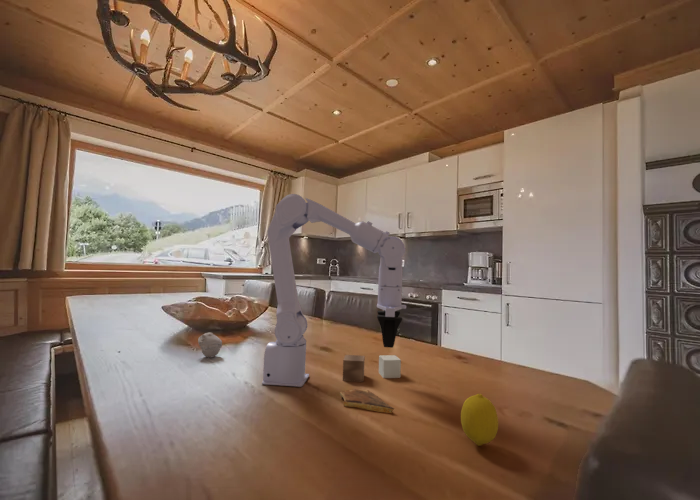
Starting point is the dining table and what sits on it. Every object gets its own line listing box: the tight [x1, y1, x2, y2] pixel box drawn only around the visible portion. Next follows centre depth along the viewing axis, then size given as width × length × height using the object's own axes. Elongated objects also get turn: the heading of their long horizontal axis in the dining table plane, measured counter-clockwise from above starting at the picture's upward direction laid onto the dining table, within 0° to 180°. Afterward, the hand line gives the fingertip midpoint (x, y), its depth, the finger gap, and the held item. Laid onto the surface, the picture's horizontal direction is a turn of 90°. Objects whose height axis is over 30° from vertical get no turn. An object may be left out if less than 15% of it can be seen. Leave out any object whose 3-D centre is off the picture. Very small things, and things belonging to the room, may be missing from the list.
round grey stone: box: [197, 332, 223, 358], centre depth 95 cm, size 6×7×7 cm
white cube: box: [378, 354, 402, 379], centre depth 84 cm, size 4×4×4 cm
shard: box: [339, 388, 395, 414], centre depth 65 cm, size 11×8×2 cm
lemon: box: [460, 393, 499, 447], centre depth 52 cm, size 6×6×8 cm
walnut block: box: [342, 354, 366, 383], centre depth 81 cm, size 5×5×5 cm
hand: (388, 343), depth 78 cm, fingers open, 7 cm apart
